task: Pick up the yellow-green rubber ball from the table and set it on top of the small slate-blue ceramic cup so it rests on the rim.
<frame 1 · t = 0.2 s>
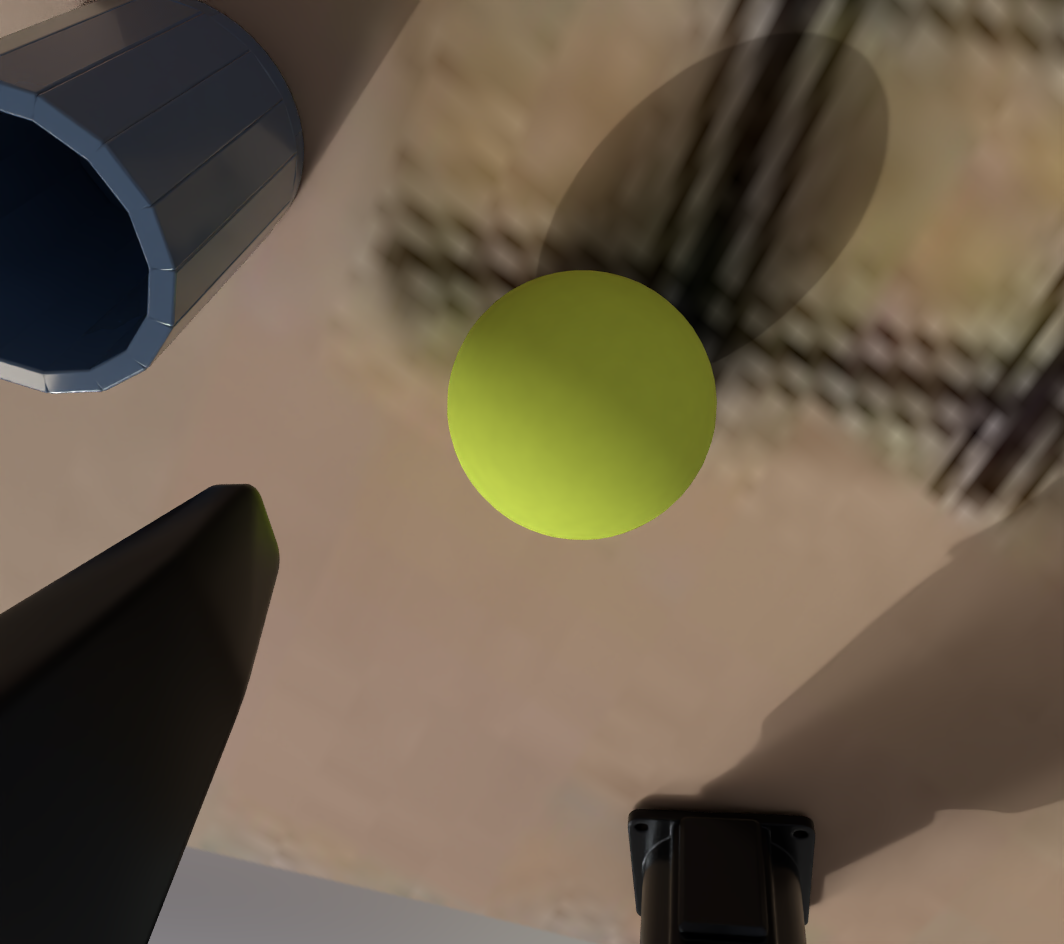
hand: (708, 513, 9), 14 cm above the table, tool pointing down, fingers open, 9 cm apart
ball: (580, 406, 22), point 3 cm above the table
tumbler: (182, 128, 22), on the table
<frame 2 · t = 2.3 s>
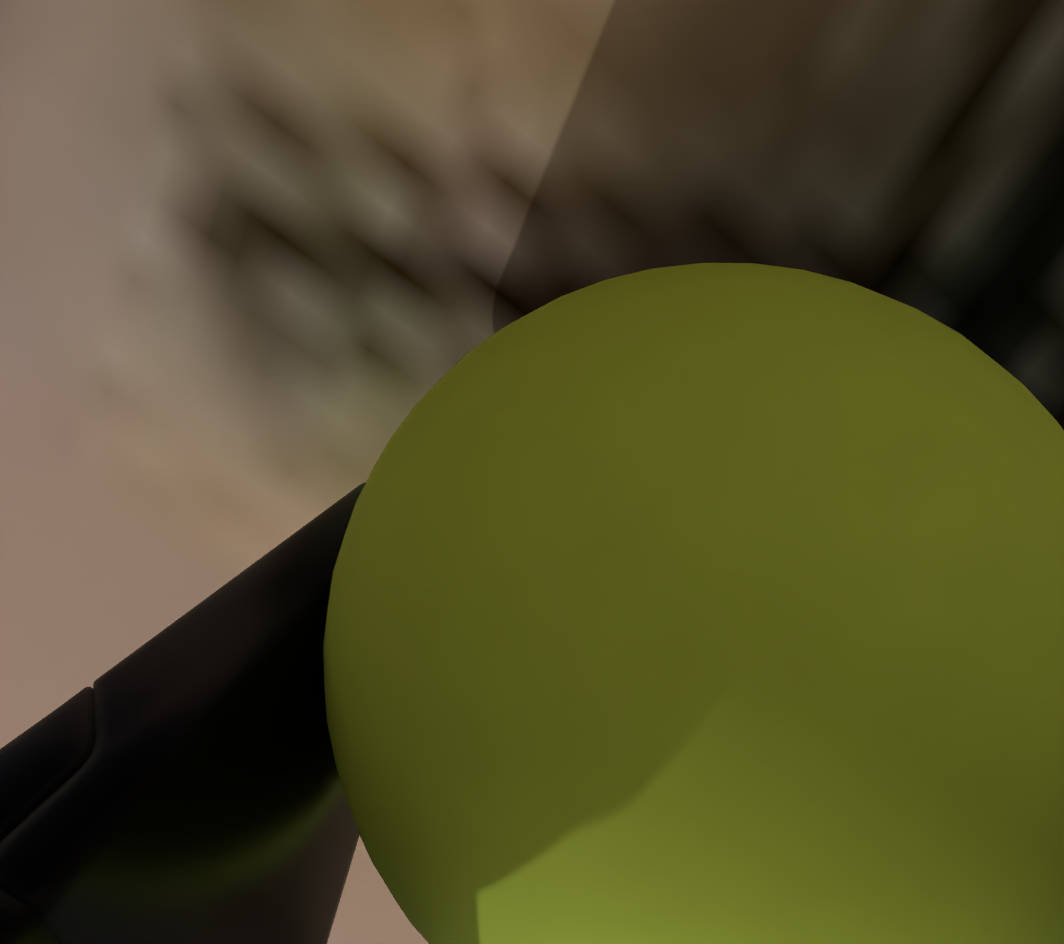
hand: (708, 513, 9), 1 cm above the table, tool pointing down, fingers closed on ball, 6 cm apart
ball: (708, 647, 8), point 3 cm above the table, touching gripper
when the fingers open (7 cm above the table, at t = 6.2 s): ball stays where it is, resting on tumbler.
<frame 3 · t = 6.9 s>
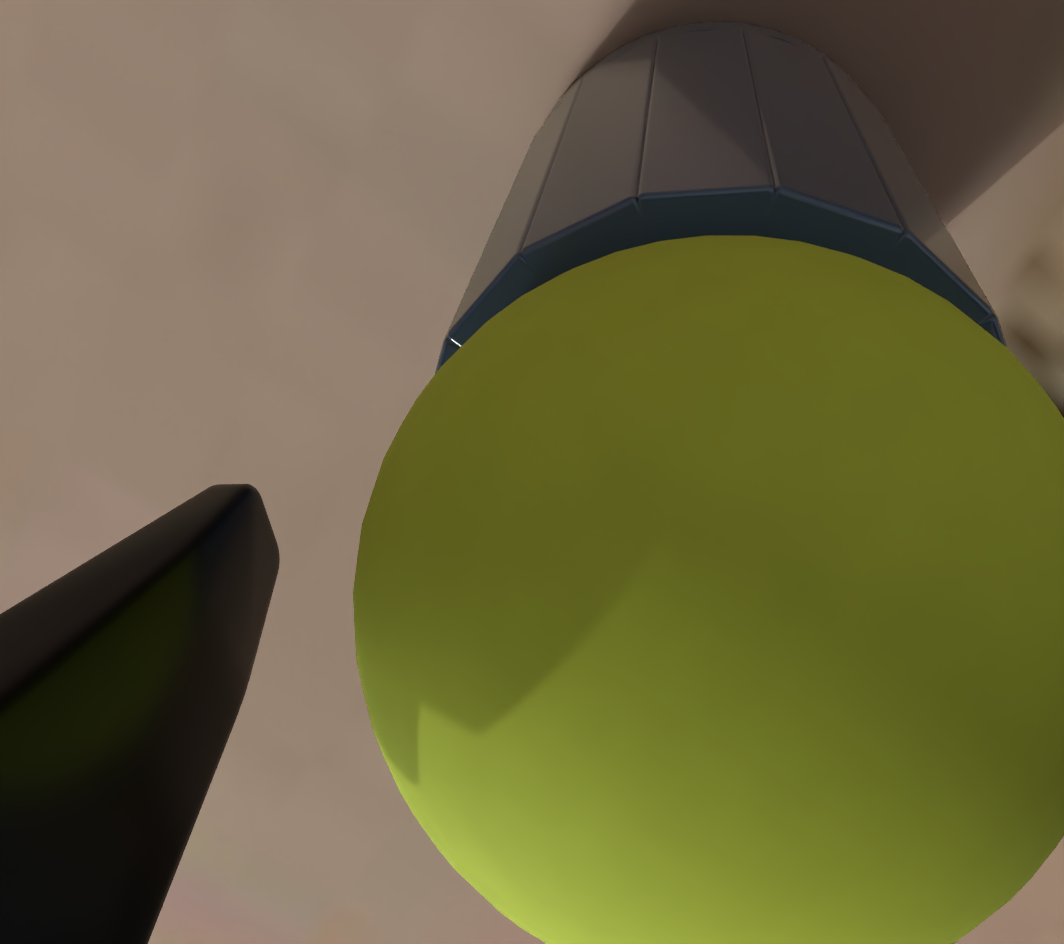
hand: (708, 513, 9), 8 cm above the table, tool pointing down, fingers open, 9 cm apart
ball: (712, 598, 8), point 9 cm above the table, touching tumbler
tumbler: (702, 219, 15), on the table, touching ball
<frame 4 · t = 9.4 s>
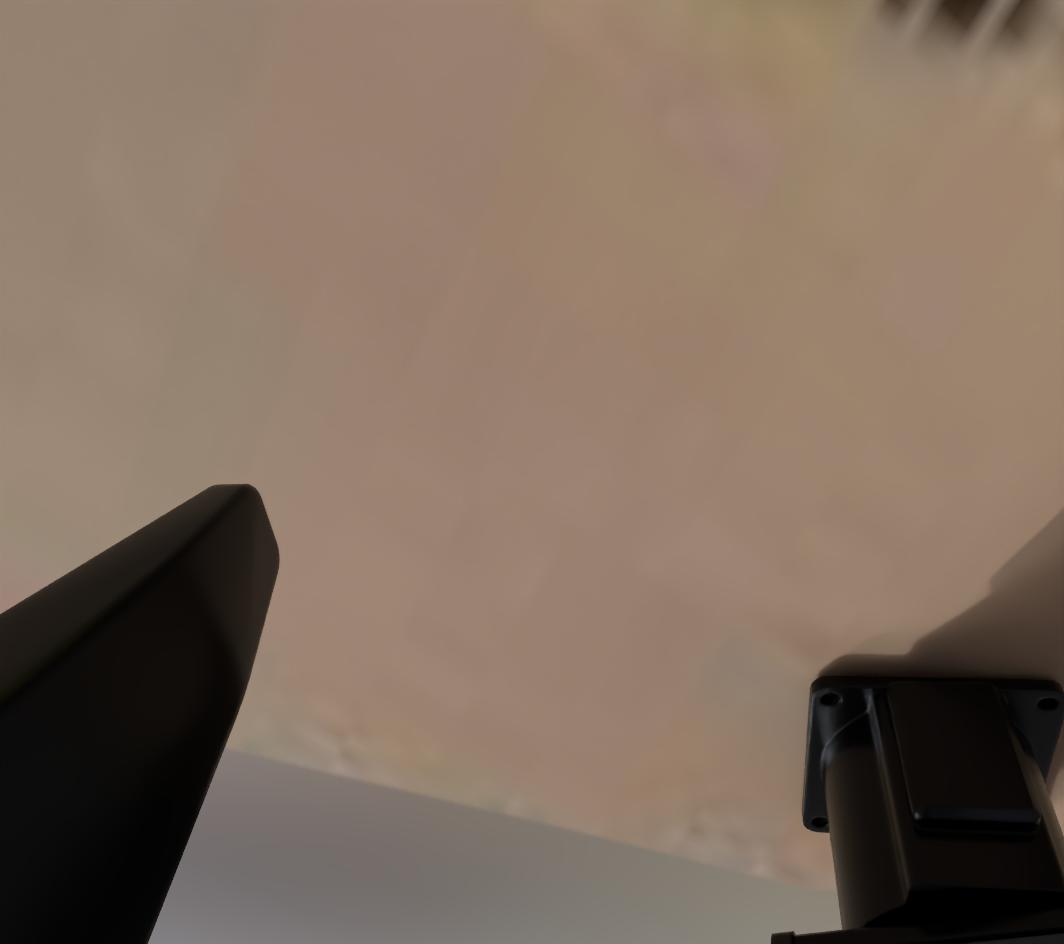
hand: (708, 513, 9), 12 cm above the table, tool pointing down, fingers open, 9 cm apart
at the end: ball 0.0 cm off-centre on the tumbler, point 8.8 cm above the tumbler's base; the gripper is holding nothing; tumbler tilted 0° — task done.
